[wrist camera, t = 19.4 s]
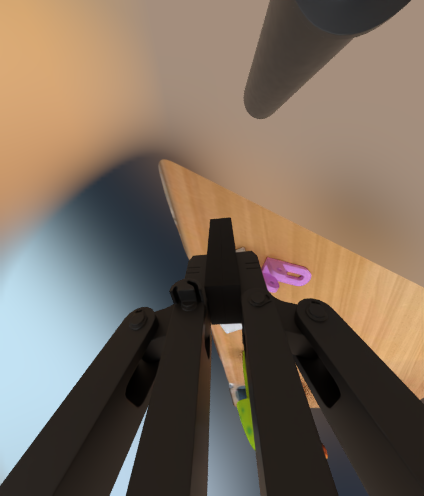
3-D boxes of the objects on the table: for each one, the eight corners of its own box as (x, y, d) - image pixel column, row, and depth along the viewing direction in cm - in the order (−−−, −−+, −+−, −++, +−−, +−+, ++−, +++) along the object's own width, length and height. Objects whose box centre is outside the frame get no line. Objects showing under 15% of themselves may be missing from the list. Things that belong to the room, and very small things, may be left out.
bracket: (259, 273, 48) (264, 290, 42) (267, 257, 46) (273, 272, 40) (302, 284, 49) (313, 302, 43) (312, 269, 46) (326, 286, 40)
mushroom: (237, 359, 68) (243, 457, 46) (231, 347, 64) (234, 445, 42) (259, 356, 66) (276, 456, 44) (253, 343, 63) (269, 444, 41)
